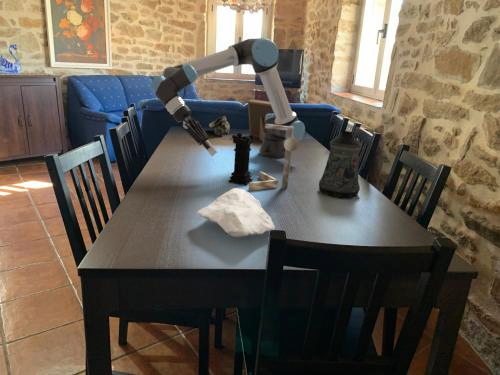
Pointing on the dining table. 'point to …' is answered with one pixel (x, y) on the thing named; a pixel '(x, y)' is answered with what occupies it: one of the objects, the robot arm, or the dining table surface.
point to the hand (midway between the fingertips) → (214, 154)
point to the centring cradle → (289, 146)
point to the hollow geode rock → (220, 126)
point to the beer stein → (342, 168)
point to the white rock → (238, 214)
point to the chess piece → (241, 160)
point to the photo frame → (258, 116)
